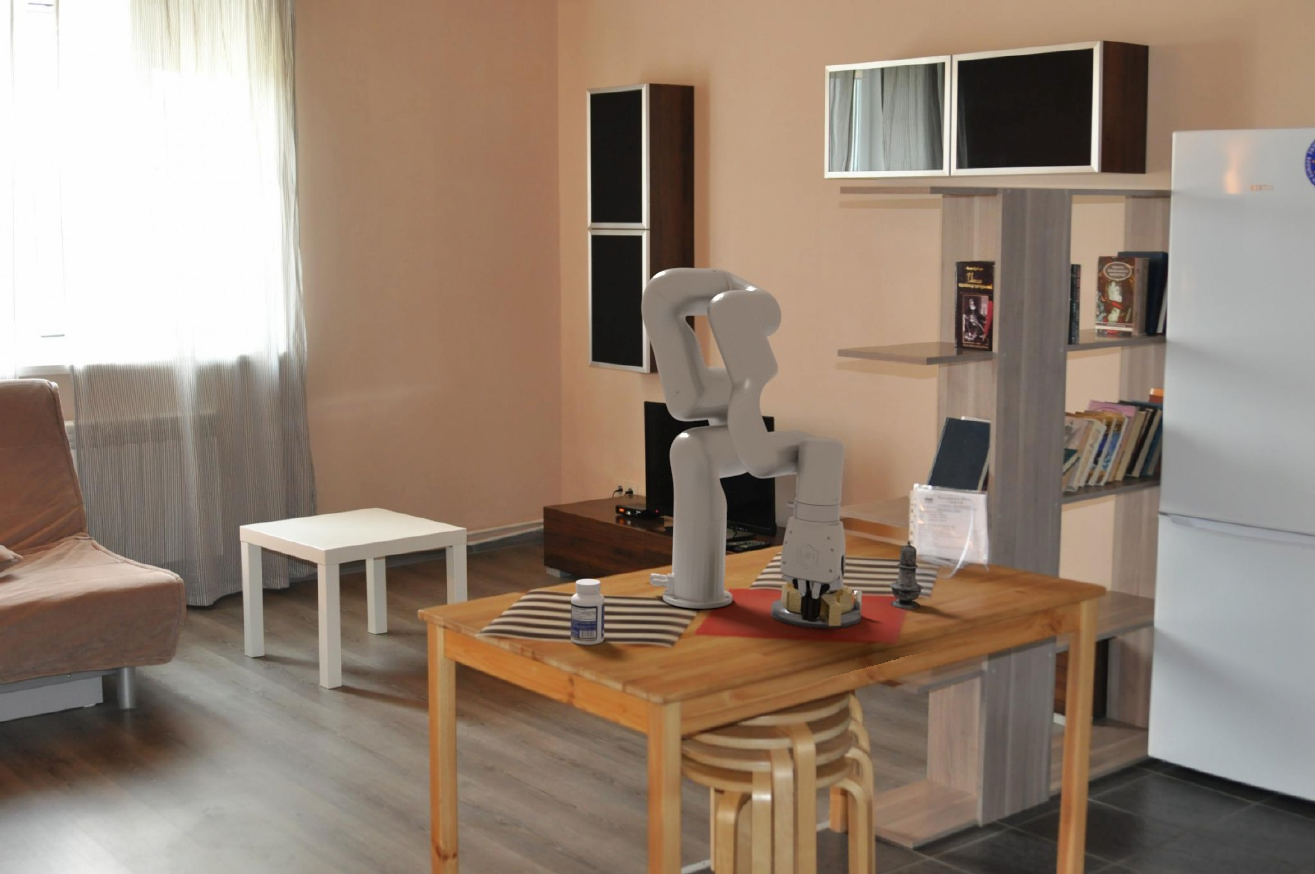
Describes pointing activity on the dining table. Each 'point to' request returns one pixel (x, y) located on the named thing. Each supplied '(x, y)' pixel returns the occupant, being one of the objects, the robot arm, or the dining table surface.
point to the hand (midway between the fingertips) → (809, 618)
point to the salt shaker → (906, 580)
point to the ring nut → (829, 603)
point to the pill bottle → (587, 613)
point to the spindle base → (796, 618)
